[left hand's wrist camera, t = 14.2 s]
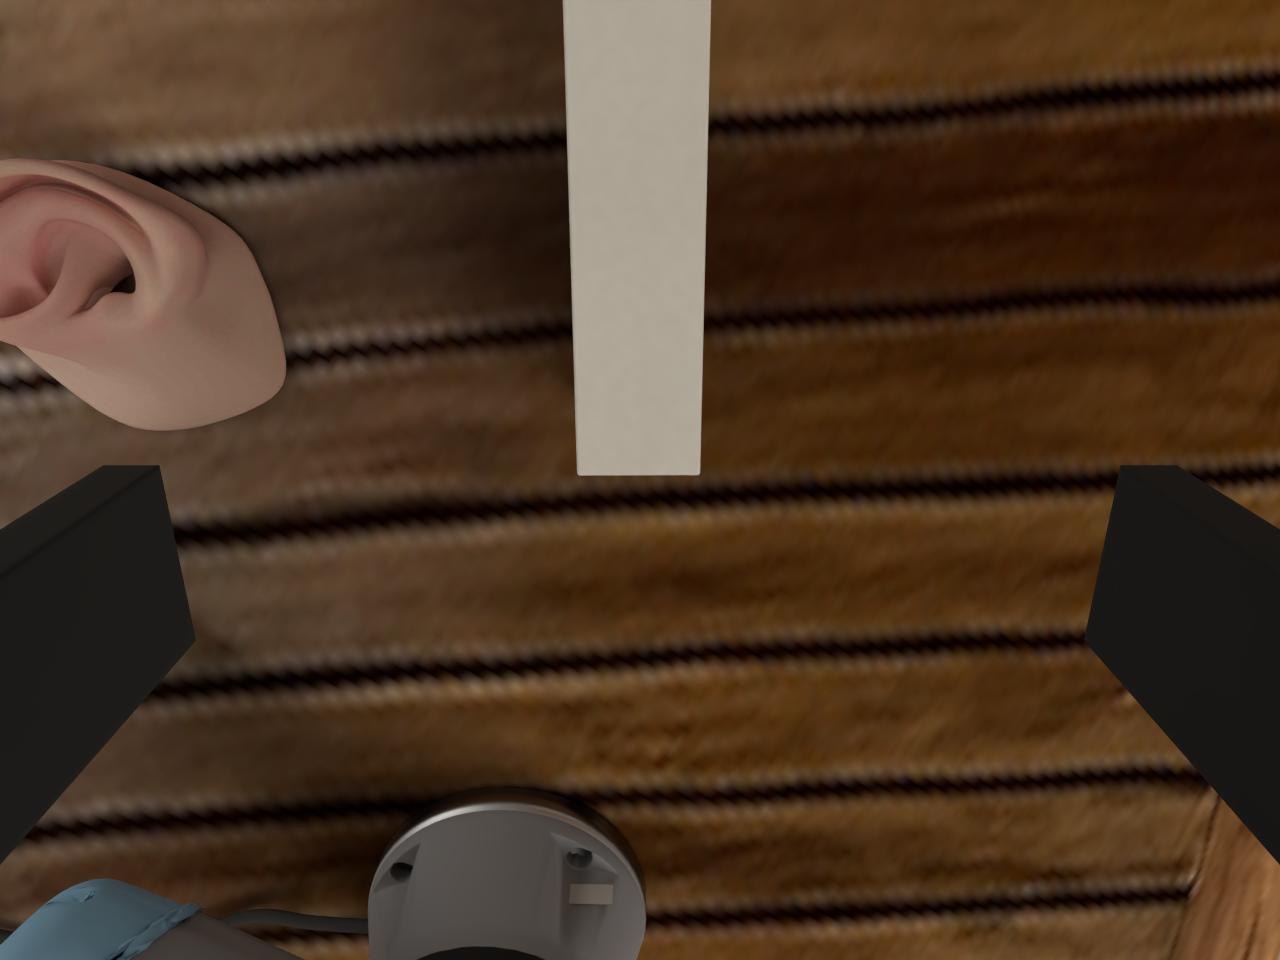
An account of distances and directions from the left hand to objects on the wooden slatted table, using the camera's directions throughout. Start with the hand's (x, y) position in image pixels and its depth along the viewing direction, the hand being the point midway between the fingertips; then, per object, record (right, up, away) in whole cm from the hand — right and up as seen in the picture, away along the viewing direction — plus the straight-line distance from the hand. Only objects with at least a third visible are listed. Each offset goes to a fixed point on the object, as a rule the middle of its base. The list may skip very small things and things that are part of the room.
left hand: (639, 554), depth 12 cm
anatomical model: (-22, +9, +26) cm, 35 cm away
